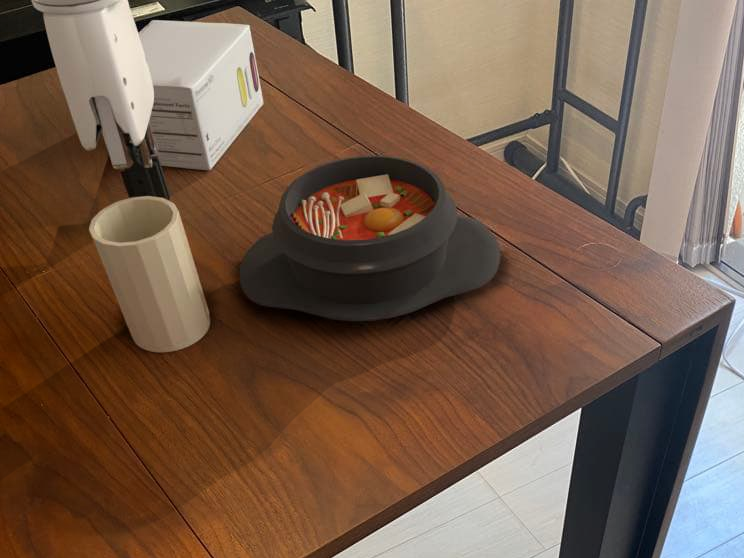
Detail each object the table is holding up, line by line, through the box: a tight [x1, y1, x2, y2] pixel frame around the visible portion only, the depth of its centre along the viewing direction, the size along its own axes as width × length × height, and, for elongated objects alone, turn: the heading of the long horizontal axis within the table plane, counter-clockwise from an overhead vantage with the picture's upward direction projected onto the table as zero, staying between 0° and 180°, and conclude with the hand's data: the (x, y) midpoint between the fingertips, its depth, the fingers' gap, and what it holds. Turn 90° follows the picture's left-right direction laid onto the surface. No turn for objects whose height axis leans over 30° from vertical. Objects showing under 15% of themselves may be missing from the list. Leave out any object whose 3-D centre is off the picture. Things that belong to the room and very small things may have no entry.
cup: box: [88, 196, 211, 353], centre depth 74 cm, size 7×7×11 cm
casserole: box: [238, 155, 501, 322], centre depth 78 cm, size 25×19×8 cm
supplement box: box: [101, 19, 264, 172], centre depth 98 cm, size 17×13×9 cm
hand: (152, 204), depth 76 cm, fingers closed
